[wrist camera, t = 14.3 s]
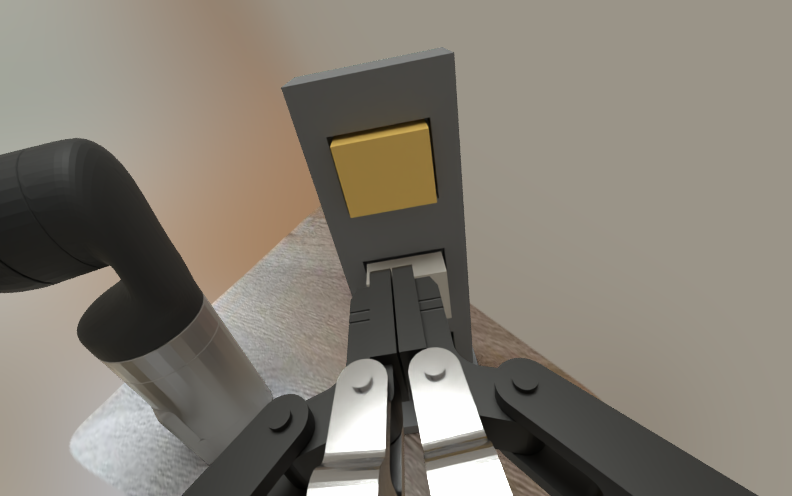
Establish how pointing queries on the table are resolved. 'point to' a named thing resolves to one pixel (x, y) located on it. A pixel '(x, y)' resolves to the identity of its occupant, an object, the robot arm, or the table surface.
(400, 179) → the key top
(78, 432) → the table surface
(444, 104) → the keypad panel
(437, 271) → the key middle
